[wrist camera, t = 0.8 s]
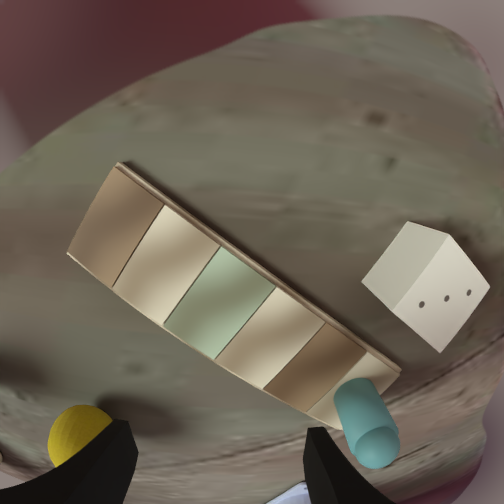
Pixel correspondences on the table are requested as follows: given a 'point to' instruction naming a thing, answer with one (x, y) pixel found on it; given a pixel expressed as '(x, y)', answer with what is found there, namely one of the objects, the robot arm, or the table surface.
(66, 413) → the lemon
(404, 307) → the die
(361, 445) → the teal capsule cylinder
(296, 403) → the board
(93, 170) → the table surface
